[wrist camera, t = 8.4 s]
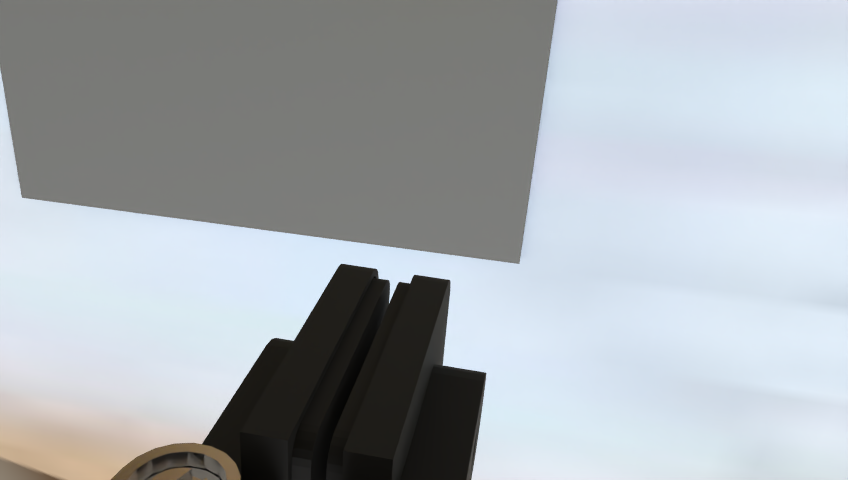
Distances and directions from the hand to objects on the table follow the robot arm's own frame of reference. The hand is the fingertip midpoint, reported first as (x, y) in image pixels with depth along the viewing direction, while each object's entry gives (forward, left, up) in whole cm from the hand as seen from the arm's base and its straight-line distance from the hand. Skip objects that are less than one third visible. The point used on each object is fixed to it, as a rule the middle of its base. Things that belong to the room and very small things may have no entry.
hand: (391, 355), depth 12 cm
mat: (+10, 0, -22) cm, 24 cm away
